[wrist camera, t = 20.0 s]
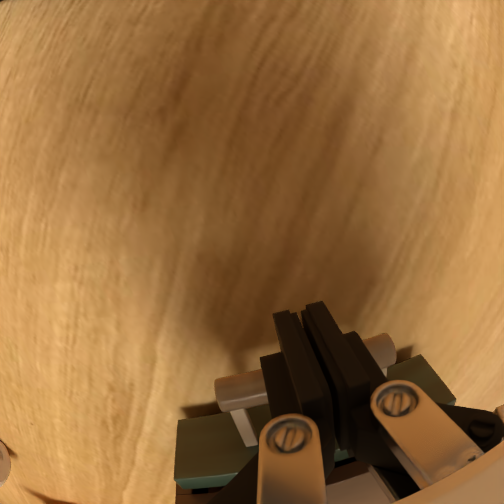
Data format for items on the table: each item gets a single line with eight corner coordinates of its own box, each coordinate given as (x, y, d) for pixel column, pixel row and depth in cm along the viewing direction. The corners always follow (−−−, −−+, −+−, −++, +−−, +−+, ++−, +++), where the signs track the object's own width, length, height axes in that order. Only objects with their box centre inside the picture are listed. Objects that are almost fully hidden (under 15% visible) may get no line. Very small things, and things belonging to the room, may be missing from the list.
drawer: (144, 361, 13) (127, 426, 9) (427, 287, 13) (476, 329, 10) (245, 513, 20) (250, 548, 17) (394, 473, 20) (408, 504, 17)
